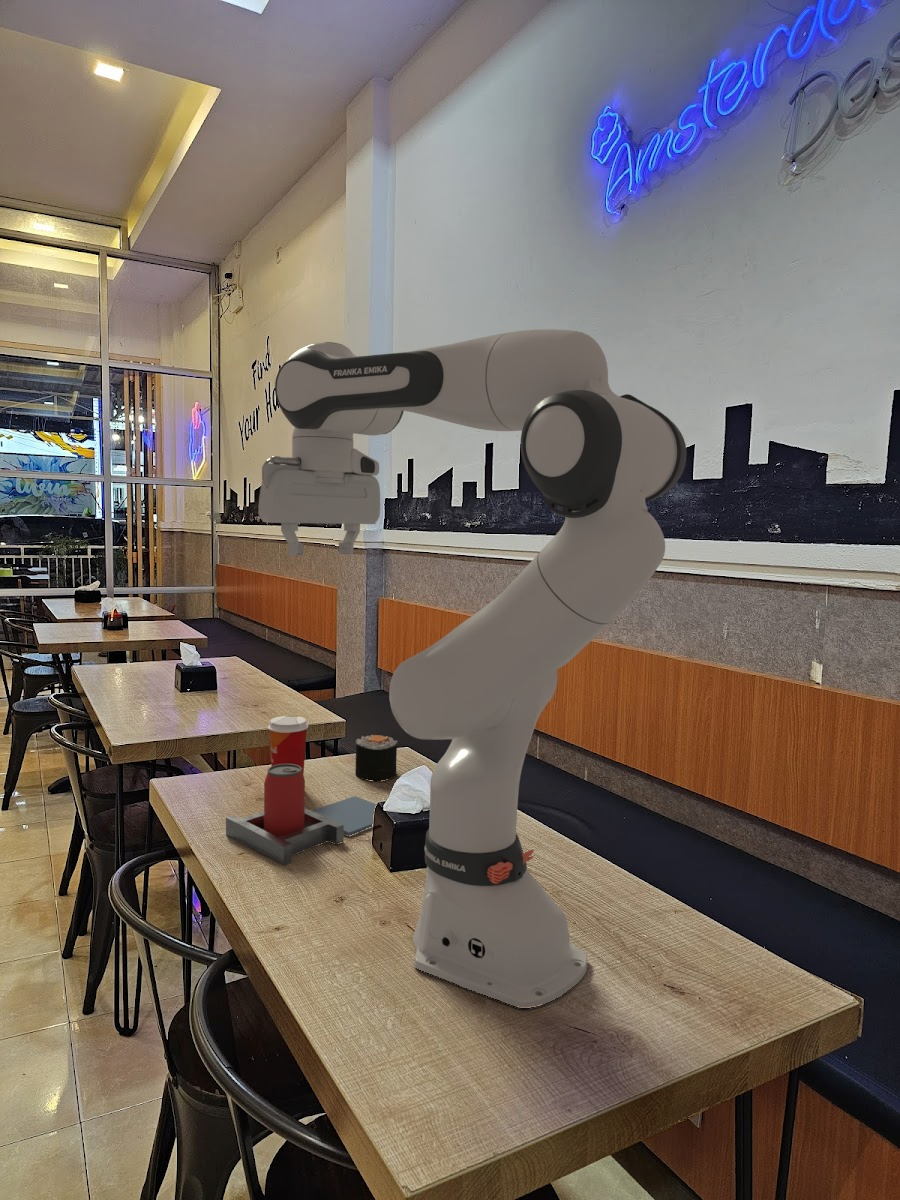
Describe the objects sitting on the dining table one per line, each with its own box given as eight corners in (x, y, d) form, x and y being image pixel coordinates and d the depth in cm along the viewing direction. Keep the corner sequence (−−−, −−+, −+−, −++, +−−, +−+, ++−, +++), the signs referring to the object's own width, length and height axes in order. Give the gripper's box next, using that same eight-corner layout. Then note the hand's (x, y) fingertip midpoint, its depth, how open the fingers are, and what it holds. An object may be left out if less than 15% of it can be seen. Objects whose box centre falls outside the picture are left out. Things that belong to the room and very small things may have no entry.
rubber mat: (399, 817, 139) (399, 813, 139) (348, 837, 130) (348, 832, 130) (355, 800, 147) (355, 796, 147) (304, 817, 138) (304, 812, 138)
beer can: (299, 847, 126) (300, 776, 124) (259, 846, 126) (259, 774, 124) (308, 831, 132) (308, 763, 131) (269, 829, 132) (270, 761, 131)
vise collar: (343, 842, 128) (343, 825, 128) (283, 865, 119) (283, 846, 119) (284, 815, 139) (285, 799, 138) (225, 834, 130) (225, 817, 130)
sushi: (372, 765, 167) (372, 730, 167) (403, 773, 163) (404, 736, 162) (347, 775, 161) (348, 738, 160) (379, 784, 156) (380, 746, 155)
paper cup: (273, 782, 155) (273, 714, 154) (311, 784, 155) (312, 715, 154) (262, 796, 148) (262, 724, 146) (302, 798, 147) (303, 726, 146)
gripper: (276, 454, 103) (276, 557, 105) (387, 464, 119) (385, 554, 120) (249, 455, 108) (249, 554, 109) (360, 465, 123) (358, 552, 124)
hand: (321, 554), depth 115 cm, fingers open, 8 cm apart
